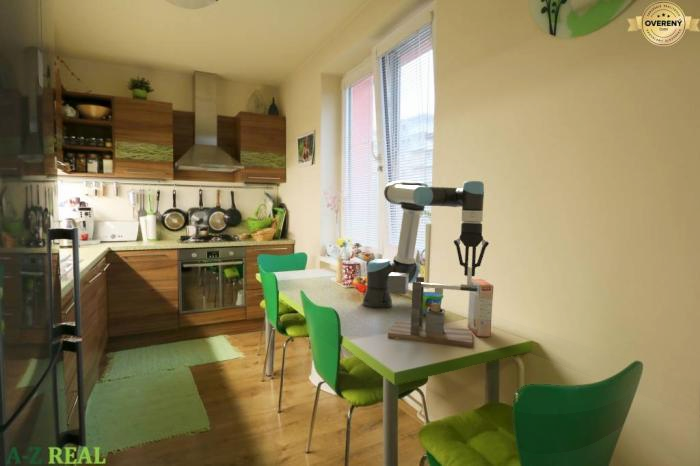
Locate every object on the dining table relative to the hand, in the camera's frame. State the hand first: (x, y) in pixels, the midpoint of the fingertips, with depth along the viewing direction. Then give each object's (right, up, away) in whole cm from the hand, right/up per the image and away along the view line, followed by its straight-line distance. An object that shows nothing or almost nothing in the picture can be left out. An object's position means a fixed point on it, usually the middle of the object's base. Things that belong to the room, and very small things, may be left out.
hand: (469, 284), depth 148 cm
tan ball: (-12, -12, +4) cm, 17 cm away
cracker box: (+8, -21, +12) cm, 26 cm away
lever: (-13, -5, +4) cm, 15 cm away
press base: (-14, -21, +5) cm, 26 cm away
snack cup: (-7, -20, +36) cm, 42 cm away
